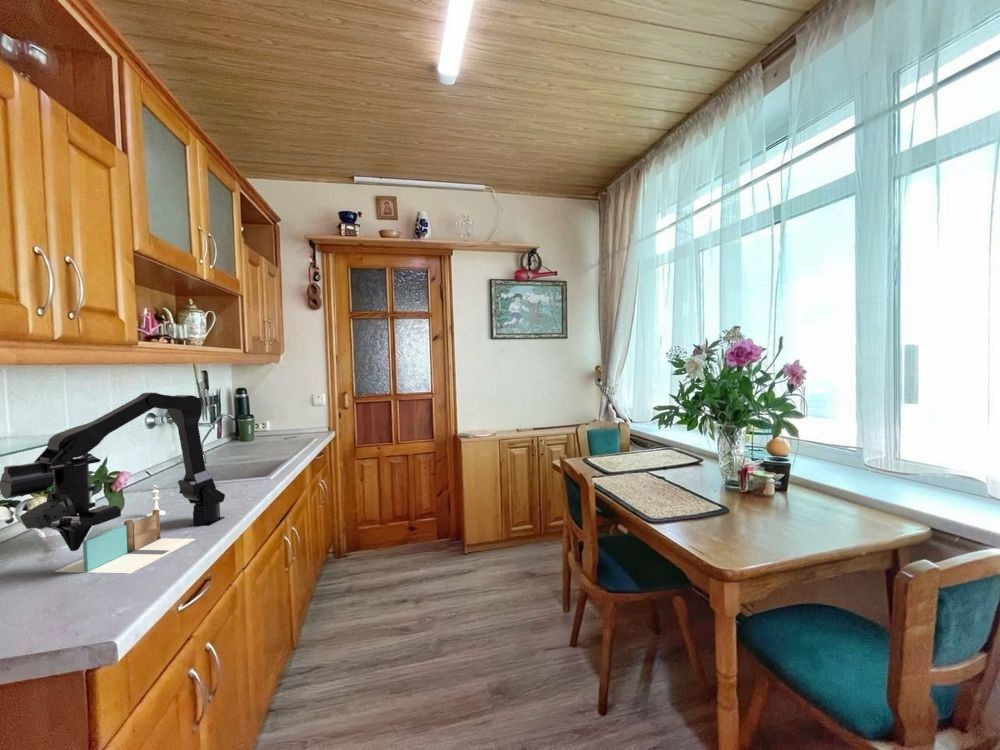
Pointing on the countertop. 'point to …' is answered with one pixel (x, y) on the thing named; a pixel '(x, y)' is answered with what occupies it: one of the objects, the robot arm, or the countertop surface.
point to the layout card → (132, 557)
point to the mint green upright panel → (104, 547)
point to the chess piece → (155, 502)
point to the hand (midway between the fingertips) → (74, 550)
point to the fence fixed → (142, 531)
